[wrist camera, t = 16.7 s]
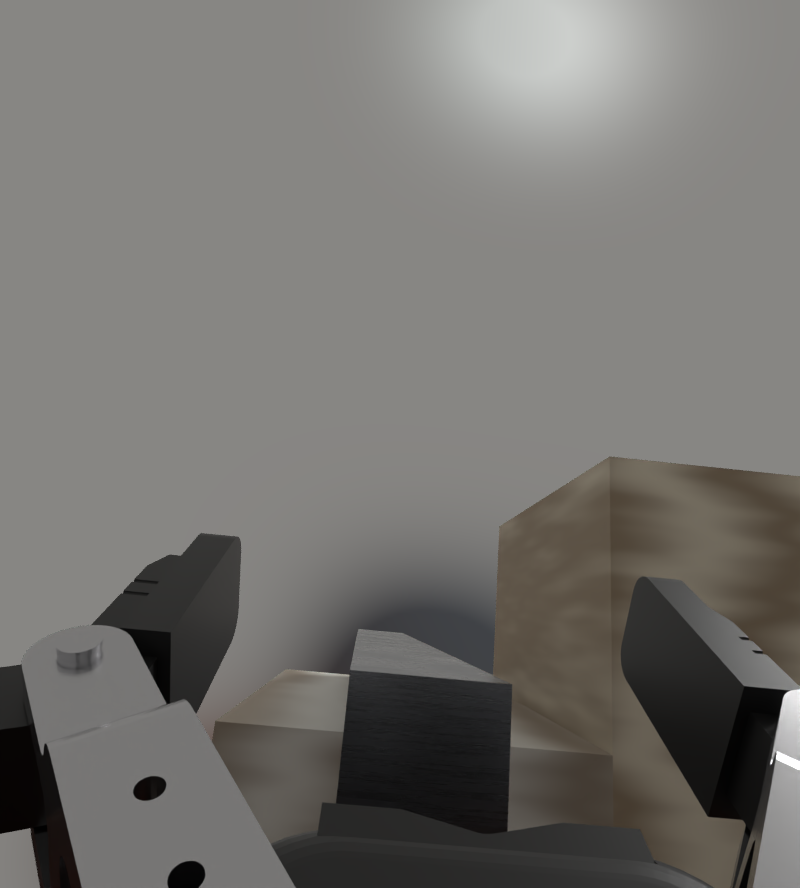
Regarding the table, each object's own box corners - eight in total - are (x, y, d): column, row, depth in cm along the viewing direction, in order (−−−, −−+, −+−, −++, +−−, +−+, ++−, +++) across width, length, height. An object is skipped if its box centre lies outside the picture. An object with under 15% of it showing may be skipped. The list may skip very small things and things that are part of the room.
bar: (398, 681, 39) (402, 633, 40) (506, 873, 10) (512, 684, 11) (353, 677, 39) (358, 629, 40) (329, 859, 10) (350, 669, 11)
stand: (695, 1090, 35) (673, 543, 44) (1109, 1682, 15) (917, 488, 24) (233, 1060, 34) (307, 507, 43) (64, 1648, 15) (264, 420, 24)
